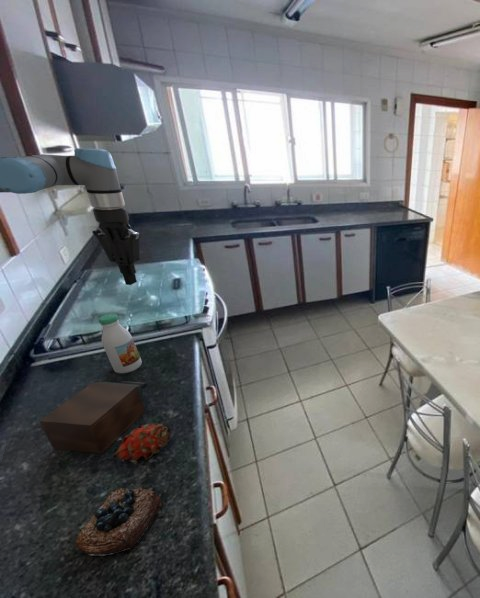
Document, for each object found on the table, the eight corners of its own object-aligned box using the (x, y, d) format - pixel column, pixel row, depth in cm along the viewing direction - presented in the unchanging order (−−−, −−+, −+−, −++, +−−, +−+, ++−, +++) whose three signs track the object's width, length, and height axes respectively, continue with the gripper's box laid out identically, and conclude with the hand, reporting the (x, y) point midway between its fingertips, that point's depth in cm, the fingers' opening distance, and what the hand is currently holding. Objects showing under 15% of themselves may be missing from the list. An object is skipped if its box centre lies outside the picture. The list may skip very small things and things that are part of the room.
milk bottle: (115, 377, 108) (91, 325, 99) (114, 365, 114) (91, 315, 105) (143, 368, 113) (123, 318, 104) (141, 357, 118) (122, 308, 109)
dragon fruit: (181, 444, 88) (128, 474, 82) (168, 417, 90) (115, 444, 84) (173, 441, 81) (114, 473, 75) (159, 411, 83) (100, 440, 77)
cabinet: (103, 408, 96) (93, 381, 92) (146, 411, 96) (137, 385, 92) (53, 449, 83) (38, 420, 79) (102, 453, 83) (90, 425, 79)
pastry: (168, 495, 74) (161, 479, 71) (131, 557, 63) (120, 540, 60) (118, 496, 73) (108, 479, 70) (71, 558, 62) (58, 541, 60)
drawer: (120, 392, 101) (113, 372, 98) (157, 396, 101) (151, 375, 97) (64, 439, 85) (53, 416, 81) (107, 443, 85) (98, 420, 81)
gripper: (141, 207, 98) (160, 280, 107) (98, 203, 98) (121, 277, 108) (120, 211, 91) (142, 289, 101) (74, 207, 91) (101, 286, 101)
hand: (131, 283), depth 104 cm, fingers closed
